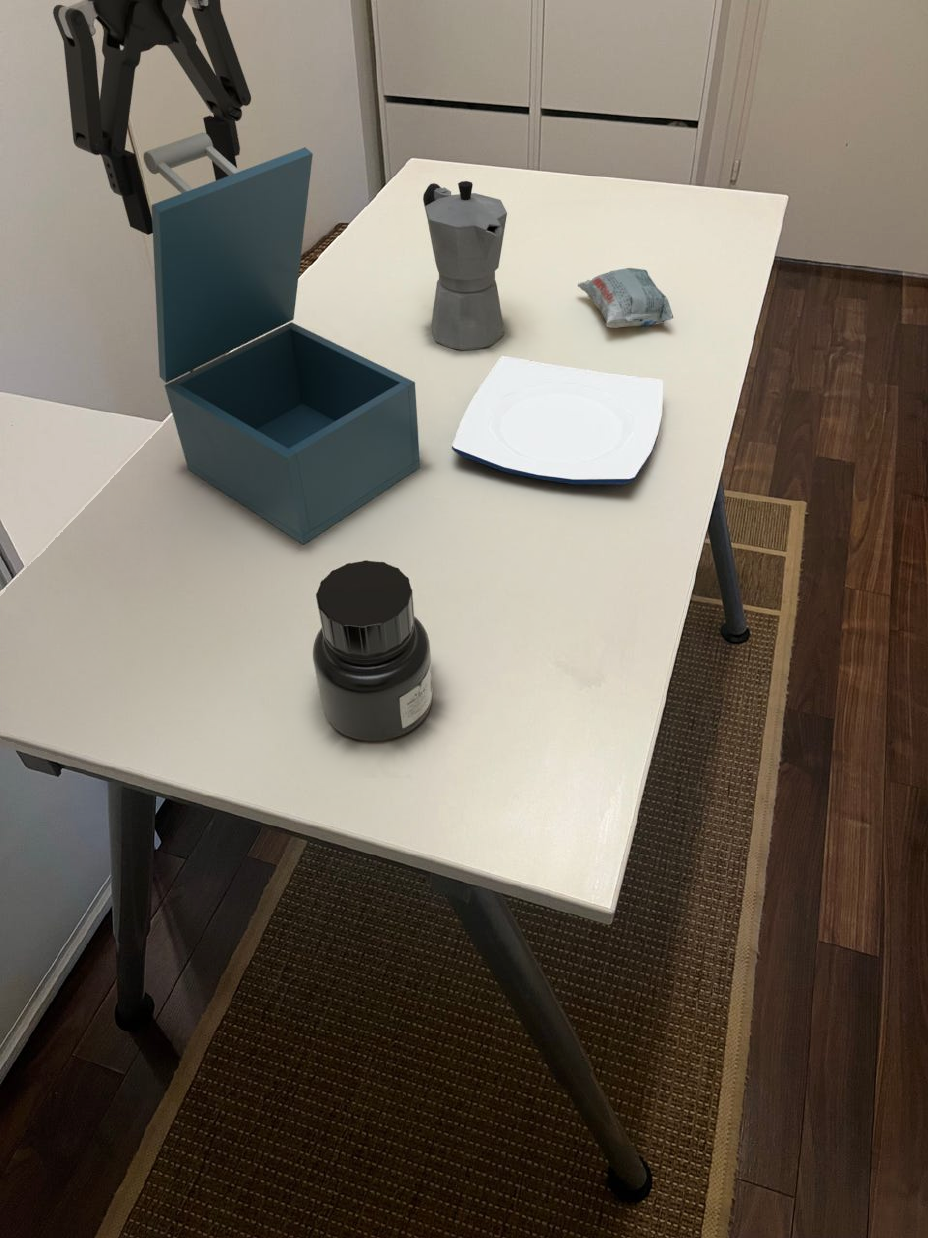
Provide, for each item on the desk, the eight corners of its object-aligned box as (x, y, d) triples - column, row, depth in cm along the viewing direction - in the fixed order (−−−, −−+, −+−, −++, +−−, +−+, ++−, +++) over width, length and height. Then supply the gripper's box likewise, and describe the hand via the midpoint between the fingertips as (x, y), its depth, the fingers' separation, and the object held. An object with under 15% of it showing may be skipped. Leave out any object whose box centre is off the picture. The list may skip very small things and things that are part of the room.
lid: (313, 153, 80) (246, 95, 82) (159, 212, 72) (88, 146, 74) (293, 319, 96) (238, 268, 98) (166, 383, 88) (107, 325, 90)
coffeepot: (529, 343, 112) (535, 191, 99) (463, 366, 109) (461, 212, 96) (461, 293, 121) (459, 148, 108) (399, 313, 118) (388, 165, 105)
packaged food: (604, 342, 112) (609, 304, 108) (575, 297, 120) (579, 260, 117) (672, 335, 113) (679, 297, 110) (639, 291, 121) (644, 254, 118)
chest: (420, 467, 95) (415, 381, 88) (303, 545, 87) (287, 458, 80) (304, 404, 104) (291, 321, 97) (188, 469, 96) (164, 384, 89)
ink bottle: (440, 741, 71) (434, 635, 62) (324, 755, 70) (302, 650, 62) (426, 649, 78) (418, 541, 69) (320, 661, 77) (300, 553, 68)
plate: (670, 397, 104) (674, 376, 102) (638, 508, 90) (641, 486, 88) (495, 370, 108) (496, 350, 106) (439, 472, 95) (439, 451, 93)
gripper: (6, -69, 60) (107, 265, 77) (265, -115, 72) (305, 185, 88) (-49, -82, 64) (58, 240, 80) (205, -124, 75) (255, 166, 91)
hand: (187, 211), depth 84 cm, fingers open, 9 cm apart
